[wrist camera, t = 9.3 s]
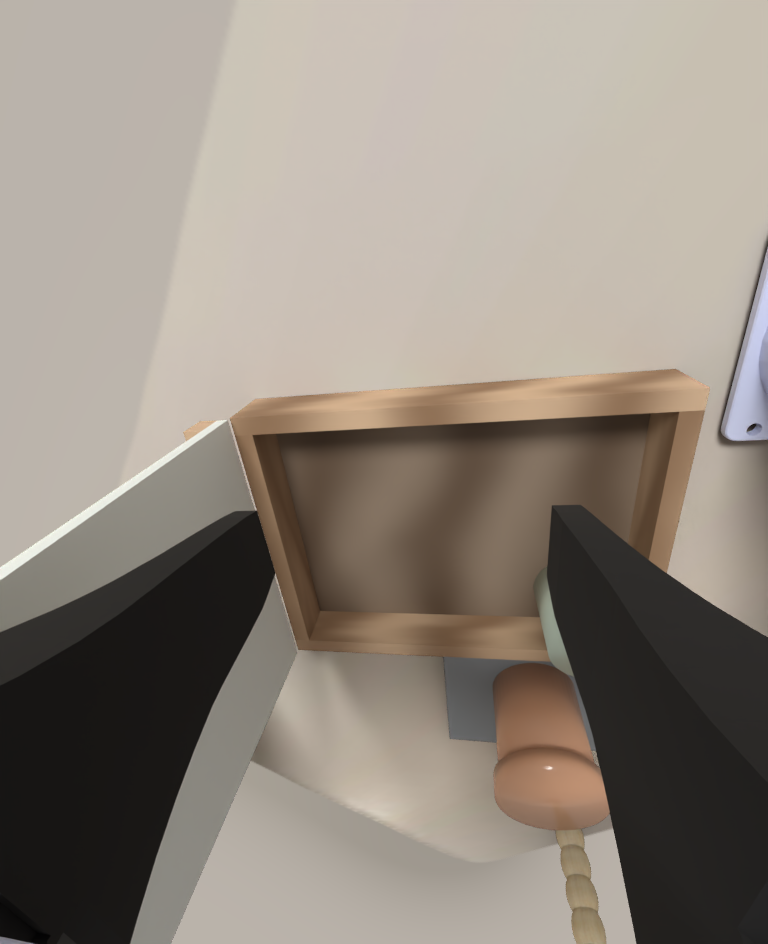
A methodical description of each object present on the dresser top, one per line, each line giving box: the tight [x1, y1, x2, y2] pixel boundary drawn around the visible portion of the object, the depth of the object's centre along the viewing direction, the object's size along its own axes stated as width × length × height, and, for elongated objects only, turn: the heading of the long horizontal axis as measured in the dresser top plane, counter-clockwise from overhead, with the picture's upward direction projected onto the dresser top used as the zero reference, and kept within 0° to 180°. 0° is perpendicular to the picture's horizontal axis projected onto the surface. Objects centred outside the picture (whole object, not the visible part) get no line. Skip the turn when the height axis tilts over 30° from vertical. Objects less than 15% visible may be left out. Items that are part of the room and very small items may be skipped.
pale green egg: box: [533, 567, 574, 676], centre depth 20 cm, size 4×4×4 cm
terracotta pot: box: [493, 663, 610, 830], centre depth 23 cm, size 5×5×6 cm
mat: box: [443, 657, 596, 751], centre depth 26 cm, size 12×10×1 cm
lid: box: [0, 420, 297, 944], centre depth 13 cm, size 18×14×1 cm
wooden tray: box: [230, 369, 710, 662], centre depth 20 cm, size 18×14×3 cm
